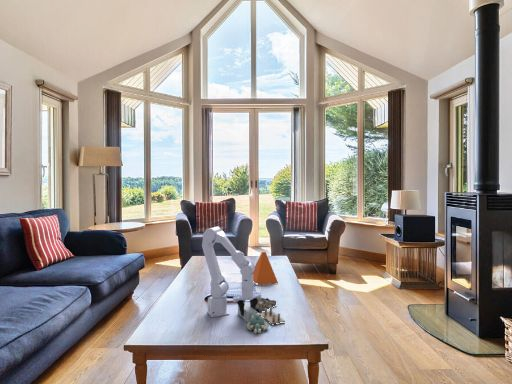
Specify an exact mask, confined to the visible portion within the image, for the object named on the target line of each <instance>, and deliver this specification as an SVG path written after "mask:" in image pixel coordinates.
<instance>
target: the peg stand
mask: <svg viewBox="0 0 512 384" xmlns="http://www.w3.org/2000/svg"><path fill="white" fill-rule="evenodd" d="M259 314H262V316H263V317H264V318H265V319H266V320H267V321H268V322H270V323H271V324H276V323H280V322H285V323H286V320H284V319H283V318H281V313H277V314H276V312H274V311H273V308H272V307H270V311H267V308H265V312H263V313H261V312H259ZM265 319H264V320H265ZM266 320H265V321H266ZM267 321H266V322H267ZM268 322H267V323H268ZM270 323H269V324H270ZM271 324H270V325H271Z"/></svg>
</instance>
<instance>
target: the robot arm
mask: <svg viewBox="0 0 512 384" xmlns="http://www.w3.org/2000/svg"><path fill="white" fill-rule="evenodd" d="M225 233H226V232H225V231H223V230H222V228H221V227H220V226H213V227H210V228H206V229H205V230H204V232H203V234H202V241H201V242H202V243H201V247H202V252H203V254H204V258H205V261H206V265H207V268H208V271H209V275H210V278H211V281H210V294H211V296H209V297H208V298H207V311H206V312H207V314H208V315H209V316H210V317H211V318H216V317H221V316H228V315H230V312H229V311H228V310H227V307H228V305H227V303H228V297H227V296H228V293H227V292H228V290H229V286H230V285H229V283H228V281H226V278H225V277H224V276H223V275H222V273H221V269H220V266H219V262H218V258H217V255H216V252H215V249H214V245H215V244H216V243H218V244H221V246H223V247H224V248H225V250H227V252H228V253H230V255H231V257H230V258H231V260H232V261H233V262H234V263H235V266H237V267H238V268H239V269H240V270H239V273H240V274H241V294H240V295H237V296H233V297H232V302H233V303H237V307H238V306H239V308H240V312H241V315H242V316H244V305H245V304H244V303H245V301H249V304H250V305H249V306H251V307H252V308H253V309H255V306H256V304H257V303H258V300H257V299H258V298H259V299H261V298H262V294H261V293H254V283H253V272H254V270H255V264H254V263H253V262H252V261H250V260H249V259H247V257H246V256H245V253H244V252H242V251H241V250H237V249H236V248H235V245H233V243H232V242H231V240H230V239H229V238H228V236H227V234H225Z"/></svg>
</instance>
